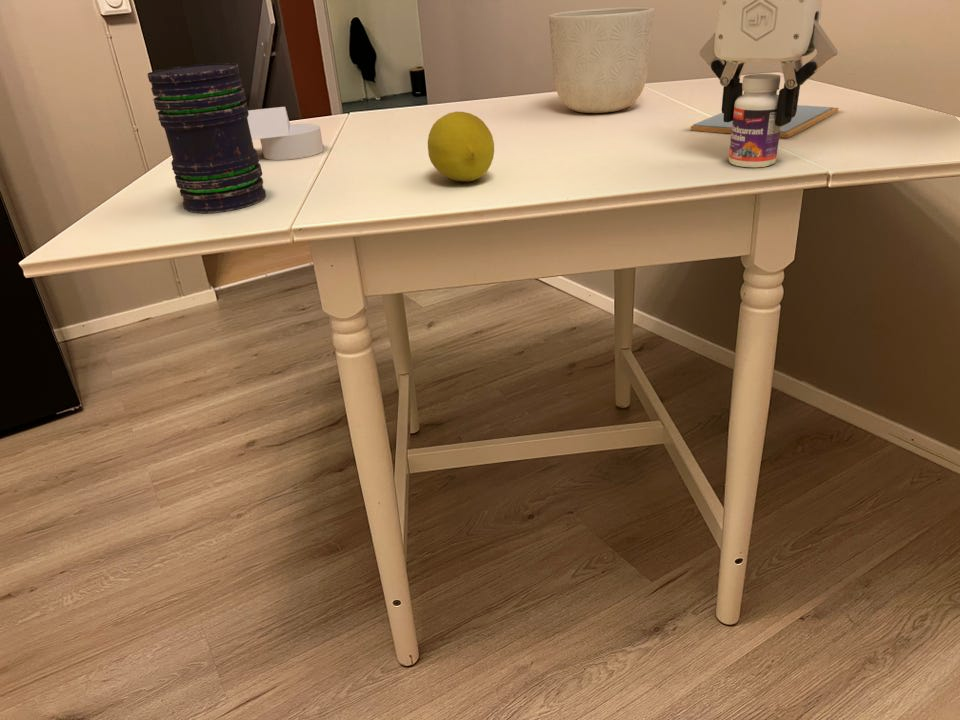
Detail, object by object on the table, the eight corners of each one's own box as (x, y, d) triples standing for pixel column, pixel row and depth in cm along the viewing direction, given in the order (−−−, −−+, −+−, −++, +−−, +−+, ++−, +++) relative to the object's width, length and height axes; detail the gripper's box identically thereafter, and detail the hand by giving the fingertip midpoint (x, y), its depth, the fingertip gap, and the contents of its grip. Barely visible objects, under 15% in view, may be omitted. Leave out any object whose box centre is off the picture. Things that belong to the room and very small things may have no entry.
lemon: (503, 186, 83) (500, 115, 79) (438, 194, 82) (431, 123, 78) (485, 166, 92) (481, 101, 88) (426, 173, 91) (419, 108, 87)
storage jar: (239, 185, 92) (210, 62, 85) (283, 195, 86) (256, 63, 79) (167, 206, 85) (129, 74, 78) (209, 218, 79) (172, 76, 72)
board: (838, 111, 107) (839, 106, 106) (787, 138, 94) (788, 132, 94) (747, 106, 115) (748, 101, 115) (690, 130, 103) (690, 124, 102)
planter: (646, 98, 128) (651, 5, 121) (652, 116, 114) (658, 11, 106) (553, 102, 131) (551, 11, 124) (547, 120, 116) (545, 18, 109)
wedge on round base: (234, 165, 102) (324, 155, 104) (222, 117, 99) (316, 107, 101) (239, 153, 110) (322, 143, 112) (228, 108, 107) (315, 99, 109)
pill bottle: (719, 164, 85) (727, 78, 80) (744, 155, 88) (753, 71, 83) (760, 170, 81) (771, 80, 77) (785, 161, 84) (797, 74, 80)
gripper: (684, -51, 76) (674, 123, 85) (853, -65, 66) (821, 134, 75) (715, -53, 81) (702, 112, 90) (877, -66, 71) (845, 121, 80)
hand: (756, 120), depth 82 cm, fingers closed on pill bottle, 5 cm apart
